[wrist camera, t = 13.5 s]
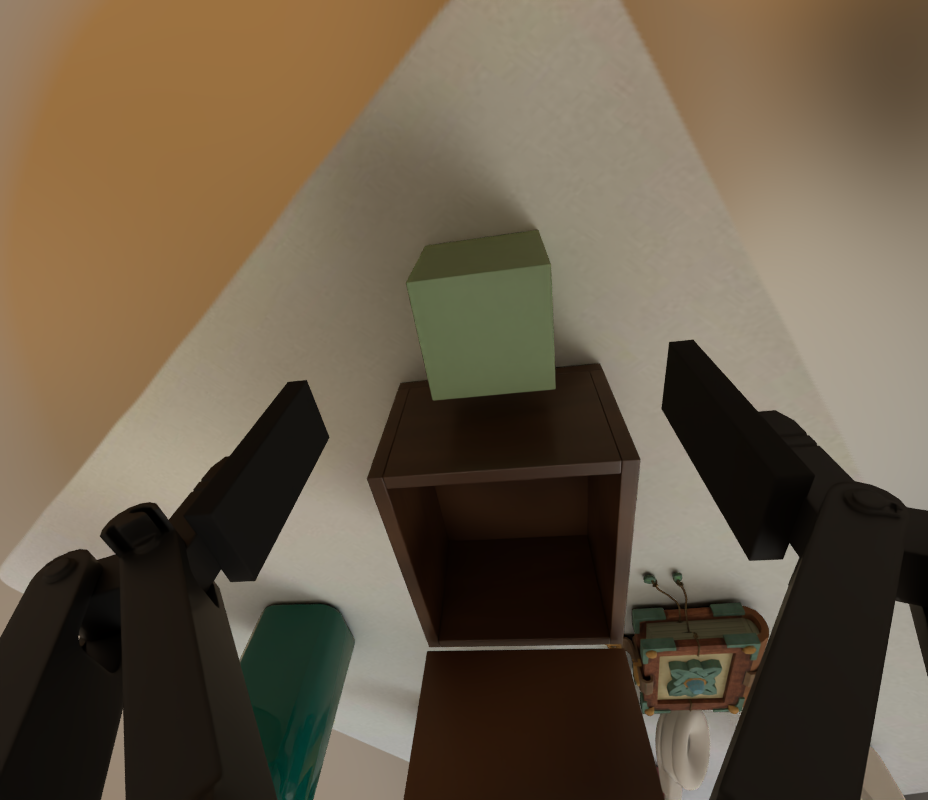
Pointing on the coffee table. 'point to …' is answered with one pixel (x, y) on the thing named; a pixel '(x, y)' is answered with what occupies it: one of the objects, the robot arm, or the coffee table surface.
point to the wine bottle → (880, 779)
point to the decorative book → (695, 655)
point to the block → (485, 316)
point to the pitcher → (296, 689)
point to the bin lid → (530, 728)
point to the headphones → (686, 752)
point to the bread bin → (511, 511)
